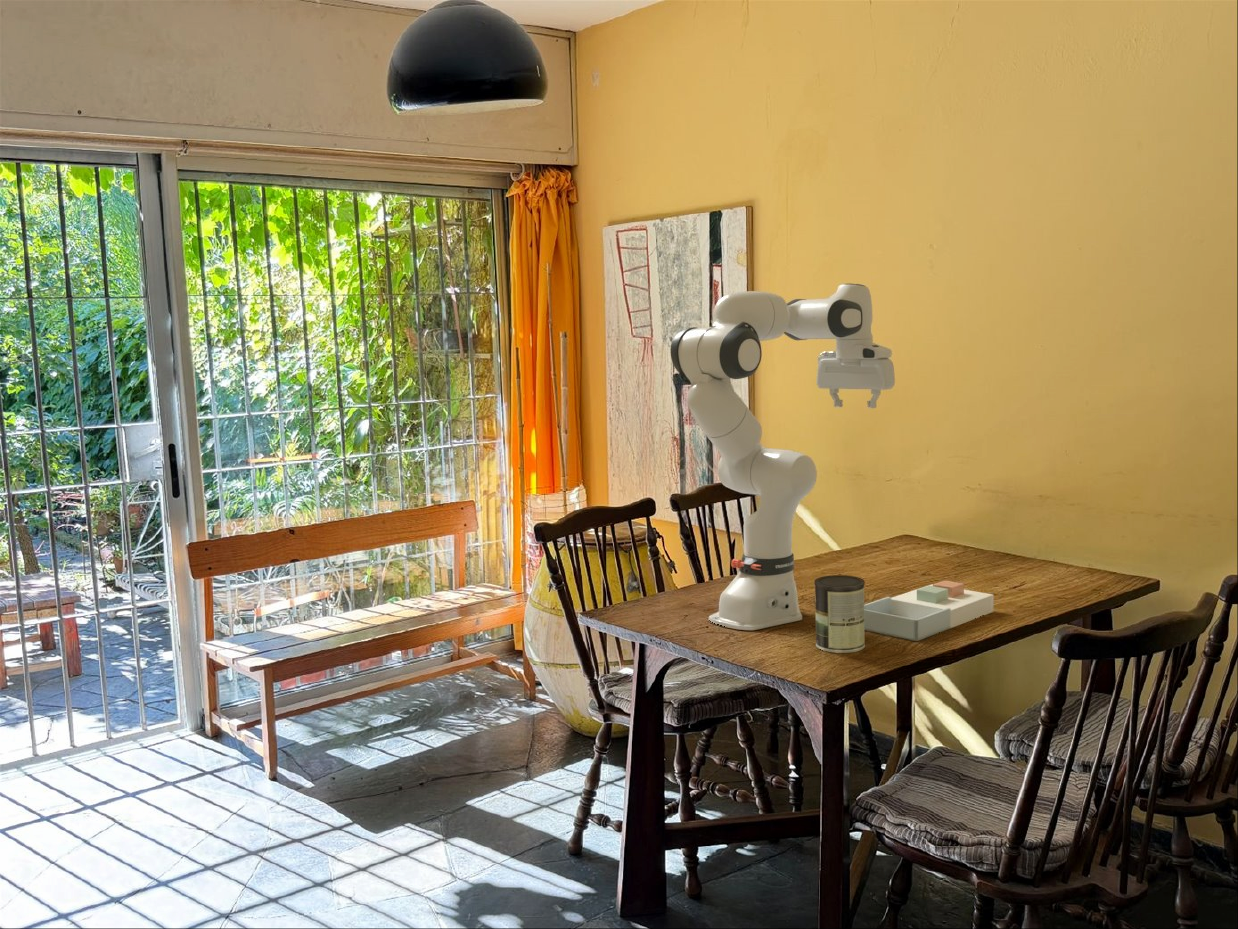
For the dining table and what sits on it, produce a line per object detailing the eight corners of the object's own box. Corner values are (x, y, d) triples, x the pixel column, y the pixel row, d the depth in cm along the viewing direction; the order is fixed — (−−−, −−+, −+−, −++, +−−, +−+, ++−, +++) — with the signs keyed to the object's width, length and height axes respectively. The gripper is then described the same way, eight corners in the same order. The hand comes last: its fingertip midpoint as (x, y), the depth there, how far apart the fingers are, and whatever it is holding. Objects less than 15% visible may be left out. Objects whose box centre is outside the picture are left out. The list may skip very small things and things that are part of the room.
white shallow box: (950, 628, 248) (950, 610, 247) (888, 615, 260) (888, 598, 259) (993, 611, 260) (993, 594, 259) (932, 600, 272) (932, 584, 271)
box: (916, 641, 239) (916, 620, 239) (854, 627, 251) (854, 608, 250) (950, 628, 248) (950, 608, 247) (888, 615, 260) (888, 596, 259)
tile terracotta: (951, 598, 258) (951, 587, 257) (932, 594, 261) (932, 584, 261) (963, 593, 261) (963, 583, 261) (944, 590, 265) (944, 580, 264)
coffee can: (806, 648, 237) (805, 582, 235) (830, 636, 245) (829, 572, 243) (850, 656, 231) (849, 588, 229) (874, 643, 239) (873, 578, 237)
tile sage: (936, 603, 253) (936, 593, 253) (916, 600, 257) (916, 589, 257) (948, 599, 257) (948, 589, 256) (929, 595, 260) (929, 585, 260)
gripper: (810, 351, 281) (811, 407, 283) (884, 351, 267) (884, 409, 269) (824, 350, 286) (825, 405, 288) (897, 350, 272) (898, 407, 274)
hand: (854, 407), depth 278 cm, fingers open, 8 cm apart
